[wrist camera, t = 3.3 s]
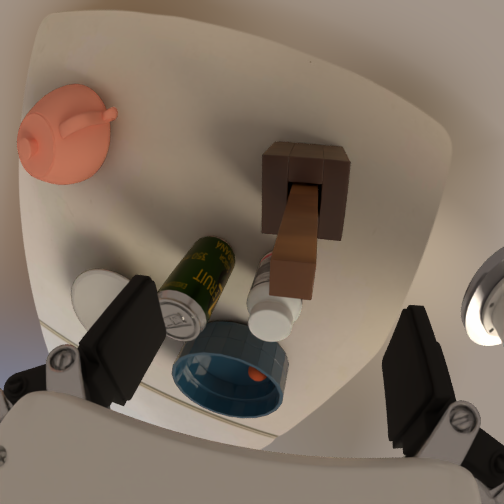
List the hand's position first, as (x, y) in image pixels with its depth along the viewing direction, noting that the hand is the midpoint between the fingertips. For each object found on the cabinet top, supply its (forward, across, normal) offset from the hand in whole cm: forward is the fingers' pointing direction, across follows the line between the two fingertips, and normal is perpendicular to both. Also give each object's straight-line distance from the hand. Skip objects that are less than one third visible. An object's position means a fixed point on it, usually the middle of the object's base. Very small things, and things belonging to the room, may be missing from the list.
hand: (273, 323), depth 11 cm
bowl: (+21, +8, +28) cm, 36 cm away
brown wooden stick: (+21, 0, 0) cm, 21 cm away
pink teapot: (+21, +26, -6) cm, 34 cm away
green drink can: (+21, +10, +10) cm, 25 cm away
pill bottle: (+21, +2, +11) cm, 24 cm away
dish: (+21, +24, +19) cm, 38 cm away
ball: (+19, +4, +28) cm, 34 cm away
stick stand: (+21, 0, 0) cm, 21 cm away
